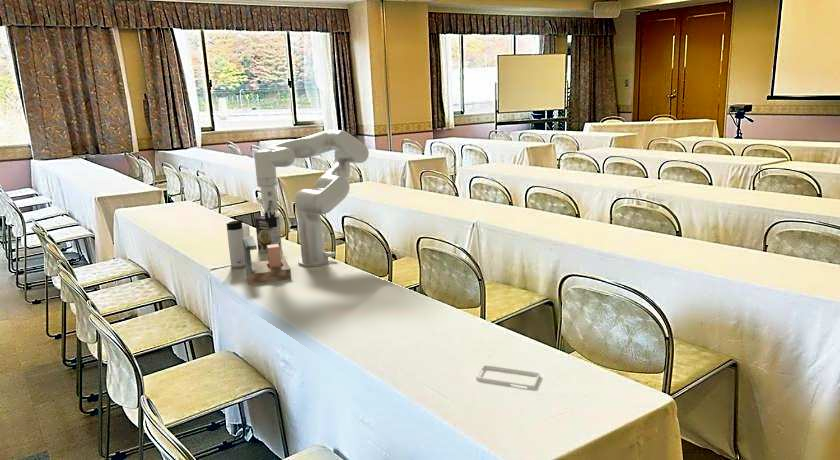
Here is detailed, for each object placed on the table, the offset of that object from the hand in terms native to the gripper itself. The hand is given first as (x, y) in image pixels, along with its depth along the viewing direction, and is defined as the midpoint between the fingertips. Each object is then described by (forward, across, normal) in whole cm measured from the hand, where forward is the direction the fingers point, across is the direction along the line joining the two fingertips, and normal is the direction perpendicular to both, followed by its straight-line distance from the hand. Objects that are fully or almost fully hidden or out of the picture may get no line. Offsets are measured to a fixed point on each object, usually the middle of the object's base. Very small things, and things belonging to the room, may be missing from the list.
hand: (271, 224), depth 244 cm
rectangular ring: (+21, -116, -42) cm, 125 cm away
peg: (+21, -1, 0) cm, 21 cm away
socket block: (+20, -1, +3) cm, 21 cm away
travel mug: (+21, +18, +13) cm, 30 cm away
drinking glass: (+21, +29, +10) cm, 37 cm away
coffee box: (+21, +36, -2) cm, 42 cm away
